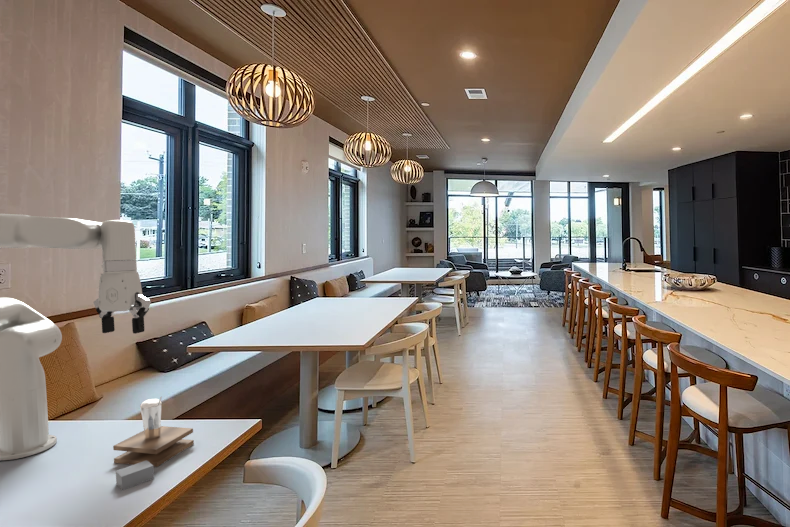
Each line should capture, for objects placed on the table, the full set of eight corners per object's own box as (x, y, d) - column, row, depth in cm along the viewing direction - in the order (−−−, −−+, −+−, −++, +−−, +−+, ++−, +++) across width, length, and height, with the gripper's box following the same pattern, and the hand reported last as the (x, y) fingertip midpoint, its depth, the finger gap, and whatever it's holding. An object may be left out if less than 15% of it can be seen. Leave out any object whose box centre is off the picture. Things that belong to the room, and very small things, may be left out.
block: (116, 484, 92) (115, 470, 92) (147, 473, 96) (146, 460, 96) (122, 491, 89) (121, 476, 89) (154, 479, 93) (153, 465, 93)
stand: (114, 462, 101) (113, 445, 101) (154, 440, 113) (153, 425, 113) (157, 467, 98) (156, 449, 98) (193, 444, 110) (192, 428, 110)
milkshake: (156, 441, 103) (154, 399, 102) (137, 440, 104) (135, 398, 104) (170, 433, 107) (168, 393, 107) (152, 432, 108) (150, 392, 108)
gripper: (80, 269, 112) (84, 334, 113) (135, 267, 108) (138, 335, 108) (106, 267, 119) (109, 329, 120) (158, 266, 115) (161, 330, 116)
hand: (123, 332), depth 114 cm, fingers open, 9 cm apart
